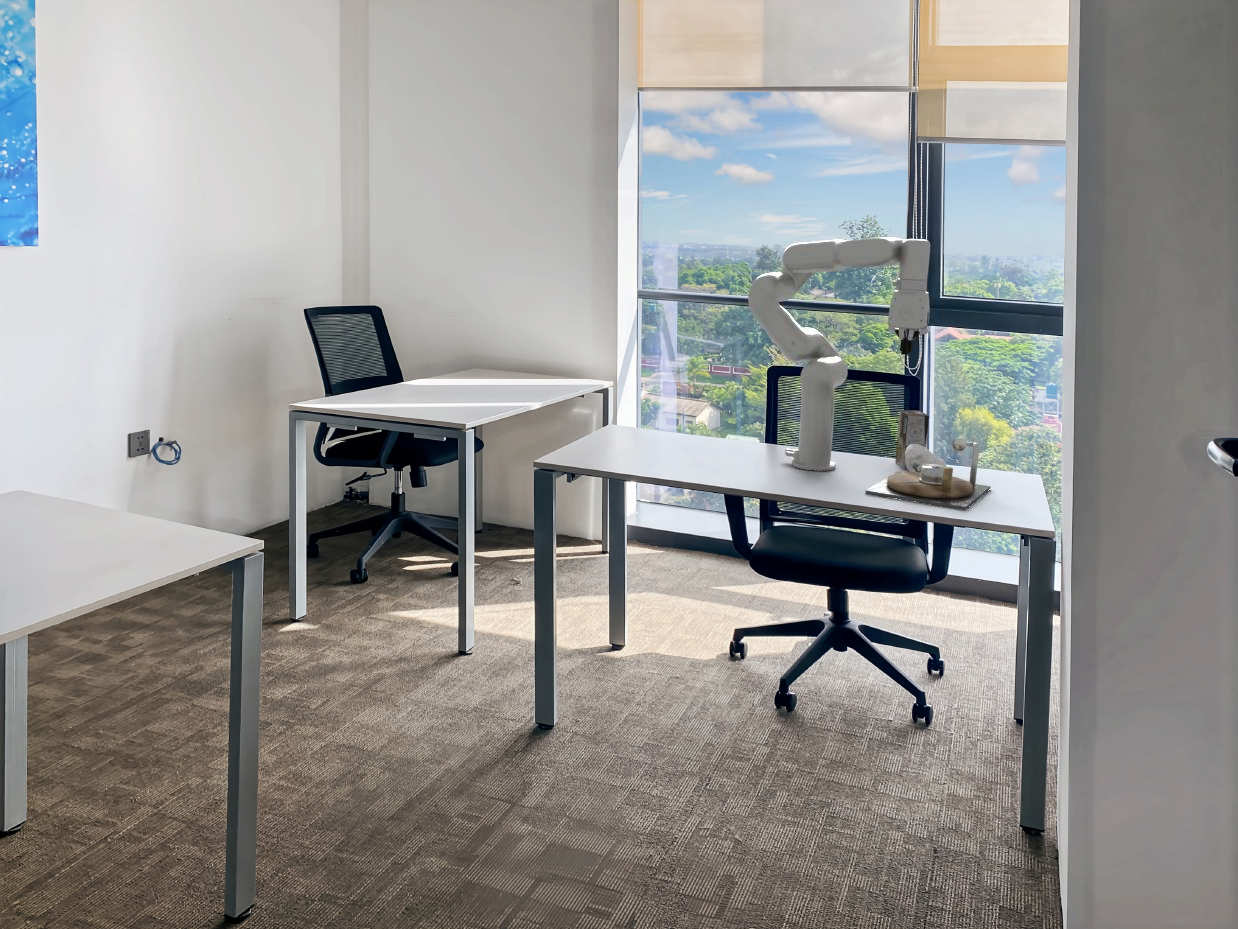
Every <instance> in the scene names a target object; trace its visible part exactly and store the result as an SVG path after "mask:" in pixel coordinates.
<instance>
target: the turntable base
mask: <svg viewBox="0 0 1238 929" xmlns="http://www.w3.org/2000/svg"><path fill="white" fill-rule="evenodd" d="M951 445H952V448H953V449H954V450H955V451H956V452H963V451H964V450H966V449H967V447H972V454H971V463H970V472H969V481H968V482H970V483H971V484H972V485H973V490H972V493H971V494H970V495H968V496H964V497H958V498H932V497H923V496H916V495H911V494H906V493H902V492H899V491H896V490H894V489H892V488H890V487H889V486H888V485H887V478H888V476H887V477H885V478H883V479H882V480H880V481H879V482H877V483H875V484H874V485H872V486H870V487H868V488H867V489H866V490H865V493H864V494H865V495H868V494H871V495H870V496H874V495H878V496H877V497H880V496H883V497H882V498H886V497H889V498H888V499H892V498H897V499H896V500H898V499H901V500H900V501H904V500H909V501H908V502H910V501H916V502H919V503H918V504H922V503H924V504H923V505H928V504H931V505H930V506H934V505H935V507H940V506H942V508H947V509H952V508H953V510H958V509H962V510H961V511H964V510H966V509H967V508H968V509H970V507H972V506H973V505H974V504H975V503H977V502H978V501H979V500H980V499H981V498H982V497H983V496H985V495H986V494H987V493H988V492H989V491H990V490H991V488H992V487H991V486H990V485H985V484H978V483H977V484H976V481H977V472H978V462H979V455H980V454H979V453H980V446H981V445H980V443H979V442H977V441H966V439H964V438H963V437H957V438H955V439H954V440H953V441H952V444H951ZM897 473H902V472H900V471H896V472H894V473H892V474H891V475H893V474H897ZM989 489H990V490H989ZM988 490H989V491H988ZM987 491H988V492H987ZM986 492H987V493H986ZM985 493H986V494H985ZM984 494H985V495H984ZM982 495H983V496H982ZM981 496H982V497H981ZM980 497H981V498H980ZM979 498H980V499H979ZM978 499H979V500H978ZM977 500H978V501H977ZM916 502H915V503H916ZM973 503H974V504H973ZM972 504H973V505H972ZM971 505H972V506H971ZM969 506H970V507H969ZM968 509H967V510H968ZM967 510H966V511H967Z"/></svg>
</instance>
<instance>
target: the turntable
mask: <svg viewBox="0 0 1238 929" xmlns="http://www.w3.org/2000/svg"><path fill="white" fill-rule="evenodd" d="M953 473H954V468H953V467H950V466H946V467H944V468H943V476H942V485H929V484H925V483H922V482H920V481H919V477H921V471H918V472H917V471H916V472H910V471H909V472H908V471H907V472H906V471H905V472H901V473H897V474H894V473H892V474H893V475H892V474H890V475H888V476H887V477H888V478H887V477H886V478H887V485H888V486H889V487H890V488H892V489H894V490H896V491H899V492H902V493H906V494H911V495H916V496H923V497H932V498H958V497H964V496H968V495H970V494H971V493H972V490H973V485H972V484H971V483H970V482H969V481H968V480H966V479H964V478H963V479H962V478H959V477H957V476H954V475H953Z"/></svg>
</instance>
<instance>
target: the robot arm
mask: <svg viewBox="0 0 1238 929" xmlns="http://www.w3.org/2000/svg"><path fill="white" fill-rule="evenodd" d="M930 256H931V243H930V241H929V240H927V239H919V238H916V239H915V238H908V239H904V238H903V239H902V238H898V237H886V236H884V237H883V236H882V237H871V238H870V237H869V238H860V239H847V240H844V239H831V240H818V241H808V242H797V243H793V244H790V245H789V246H787V247H786V248H785V249H784V251H783V253H782V257H781V259H782V261H781V262H782V265H783V266H782V267H781V269H780V270H779V271H777V272H768V273H764V274H761V275H759V276H757V277H756V278H754V281H753V282H752V283H751V285H750V287H749V291H748V295H747V296H748V298H747V301H748V306H749V307H748V308H749V310H750V312H751V314H752V316H753V318H754V319H755V320H756V321H757V323H758V324H759V326H760V327H761V328H762V329H763V330H764V331H765V333H767V336H768V337H769V338H770V339H771V340H772V342H773V343H774V344H775V346H776V347H778V349H779V350H780V352H781V353H782V355H783V357H785V358H786V359H787V360H788V361H790V362H793V363H802V362H804V363H805V365H804V366H803V368H802V370H801V372H800V377H799V378H800V391H801V392H800V393H801V394H800V397H801V400H800V417H799V433H798V447H797V448H796V449H792V448H786V449H785V451H784V454H785V456H786V457H793V460H791V466H793V467H794V468H796V467H797V468H796V469H799V468H800V470H804V469H805V471H811V470H815V471H814V472H824V471H825V470H827V471H831V470H832V471H833V470H834V469H835V468H836V462H834V461H832V459H831V456H832V449H833V448H832V447H833V446H832V445H833V434H834V418H835V408H836V407H835V404H836V403H835V402H836V401H835V392H834V389H835V388H837V387H839V386H841V385H842V384H844V383H845V381H846V379H847V377H848V366H847V364H846V362H845V360H844V359H843V358H842V356H841V355H840V353H838V351H837V350H836V349H835V347H833V345H832V344H831V343H830V342H829V340H828V339H827V338H826V337H825V336H824V335H823V334H822V333H821V332H820V331H818V330H817V329H815V328H812V327H802V326H801V325H800V324H799V323H798V321H796V320H795V319H794V318H793V316H792V315H791V314H790V313H789V312H788V311H787V310H786V309H785V308H784V307H783V306H782V305H780V303H779V302H781V303H782V302H786V301H788V300H791V299H792V298H793V297H794V296H796V294H798V292H799V291H800V290H801V289H802V288H803V287H804V286H805V284H807V282H808V281H809V280H810V279H811V278H813V276H814V274H816V273H824V272H839V271H840V272H841V271H843V270H847V269H856V268H857V269H858V268H860V269H861V268H872V267H873V268H874V267H885V266H886V267H887V266H897V265H898V276H897V277H898V278H897V280H892V286H894V287H896V290H893V292H892V296H891V299H890V305H889V310H888V317H887V325H888V328H887V330H888V332H892V333H894V334H896V335H897V337H898V339H899V340H900V342H899V343H900V345H899V352H900V354H901V355H902V356H904V355H905V356H908V355H909V356H910V355H911V353H912V352H913V348H914V340H916V339H917V337H919V336H920V335H925V334H926V335H927V334H929V323H930V294H929V291H927V285H928V276H929V265H930ZM907 330H909V331H908V332H909V333H908V336H907ZM816 470H817V471H816ZM823 470H824V471H823Z"/></svg>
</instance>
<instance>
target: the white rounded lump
mask: <svg viewBox="0 0 1238 929" xmlns="http://www.w3.org/2000/svg"><path fill="white" fill-rule="evenodd" d="M905 463H906V467H907V468H908V469H907V470H908V471H909V472H917V471H918V472H921V470H922V465H925V464H937V465H943V466H946V467H947V462H946V461H945V460H944V459H942V458H939V457H936V456H935V455H934V454H933V452H931V451H930V450H929V449H928V448H927V447H926V448H925V447H924V446H922V445H919V444H911V445H909V446H908V447H907V448H906V451H905ZM913 465H914V466H915V467H917V470H915V469H914V468H913V467H912V466H913Z"/></svg>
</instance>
